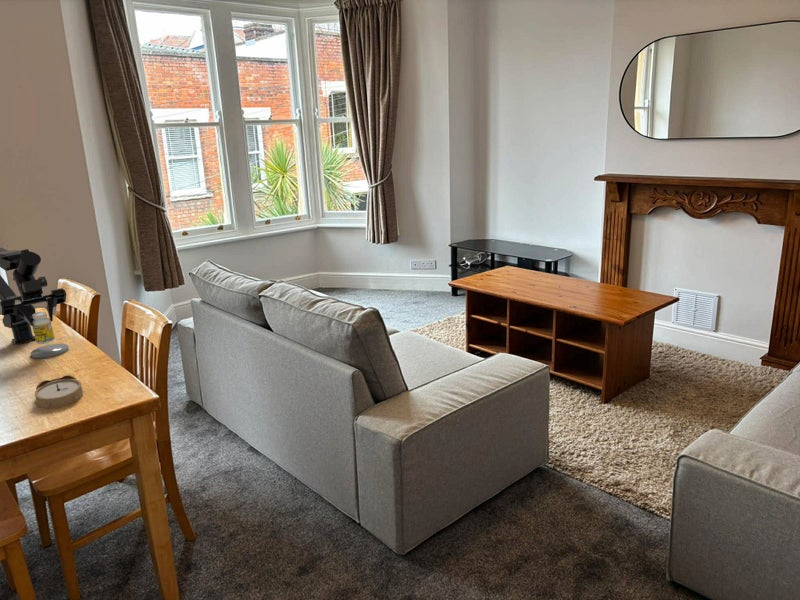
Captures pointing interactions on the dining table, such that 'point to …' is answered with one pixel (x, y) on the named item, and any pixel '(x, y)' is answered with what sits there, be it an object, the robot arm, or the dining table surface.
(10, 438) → the dining table surface
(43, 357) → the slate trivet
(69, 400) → the alarm clock
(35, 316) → the supplement bottle
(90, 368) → the dining table surface
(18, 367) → the dining table surface
